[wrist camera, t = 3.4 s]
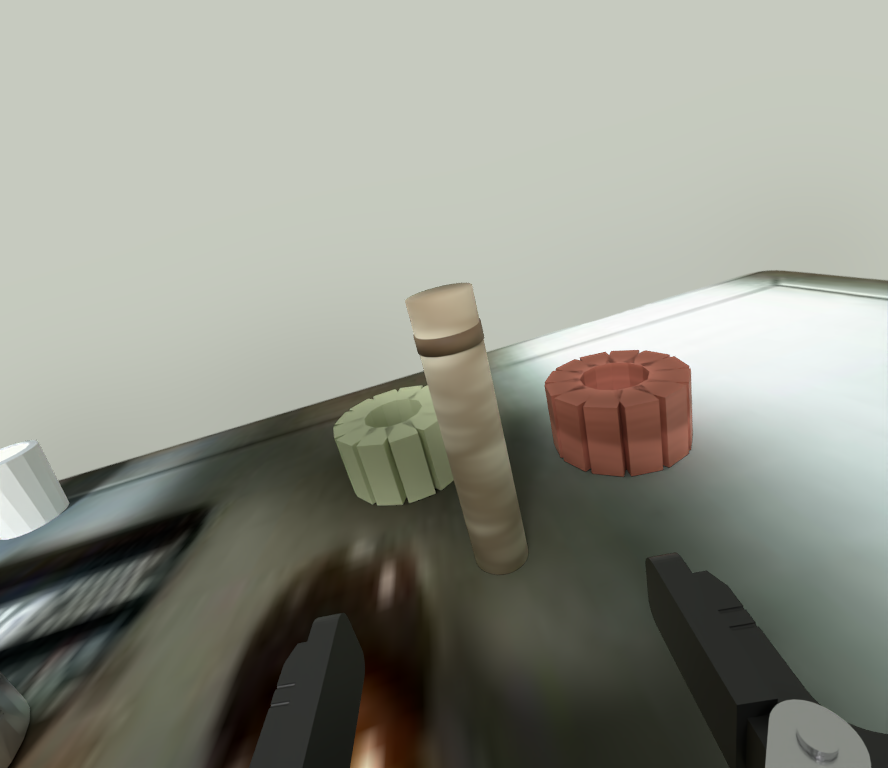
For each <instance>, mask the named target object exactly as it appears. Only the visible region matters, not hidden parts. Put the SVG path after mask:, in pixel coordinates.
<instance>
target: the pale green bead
mask: <svg viewBox="0 0 888 768" xmlns="http://www.w3.org/2000/svg"><path fill="white" fill-rule="evenodd" d="M373 397H374V400H372V399H367V400H365V401H363V402H362V403H360V404H358V405H356V406H354V407H353V408H351V409H349V410H350V412H345V413H344V415H343V416H342V417H341V418H340V419H339V420H338V421H337V422H336V423H335V427H333V430H334V439H335V441H336V444H337V447H338V449H339V452H340V455H341V457H342V460H343V463H344V465H345V468H346V471H347V473H348V476H349V479H350V481H351V484H352V487H353V489H354V492H355V494H356V495H357V497H359V498H361V499H363V500H365V501H367V502H369V503H370V504H372V505H373V504H374V503H377V506H379V505H403V504H404V502H405V500H406V497H407V499H408V502H409V503H412V502H415V501H417V500H420V499H423V498H425V497H428V496H431V495H433V494H436V492H435V489H434V488H436V489H438V490H443V489H444V488H445V487H446V486H447V485H449V484H450V483H451V482H452V481H453V480H454V479H453V475H452V471H451V468H450V464H449V460H448V457H447V453H446V449H445V446H444V442H443V438H442V435H441V431H440V427H439V424H438V420H437V416H436V413H435V409H434V405H433V402H432V398H431V394H430V391H429V387H428V386H425V387H423V386H414V387H406V388H400V390H399V391H398V392H397V391H396V389H395V390H392V391H389V392H386V393H383V394H380V395H376V396H373Z"/></svg>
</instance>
